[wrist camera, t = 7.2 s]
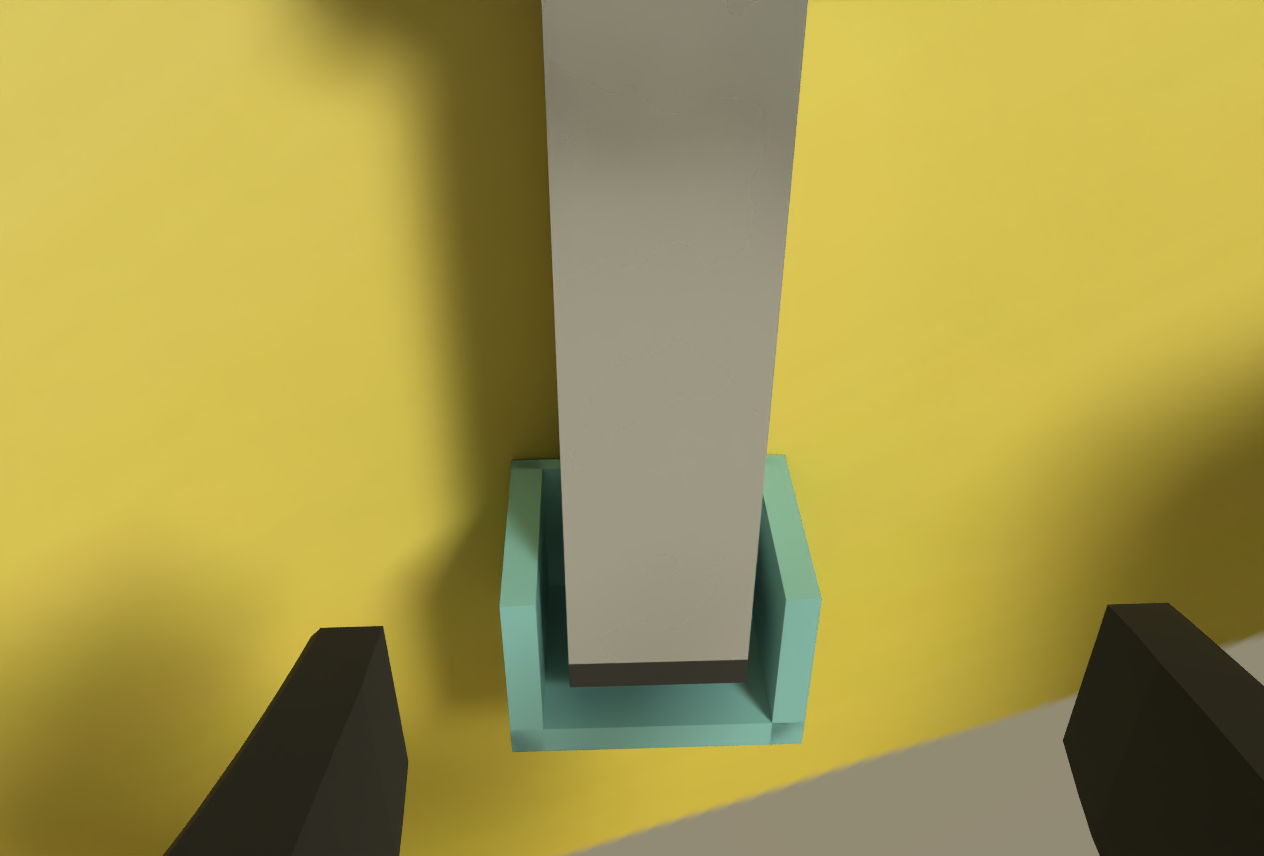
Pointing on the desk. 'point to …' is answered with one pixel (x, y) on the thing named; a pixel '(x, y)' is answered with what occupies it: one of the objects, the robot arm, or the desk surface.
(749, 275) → the long grey plank
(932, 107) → the desk surface
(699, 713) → the socket
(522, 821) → the desk surface
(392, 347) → the desk surface
